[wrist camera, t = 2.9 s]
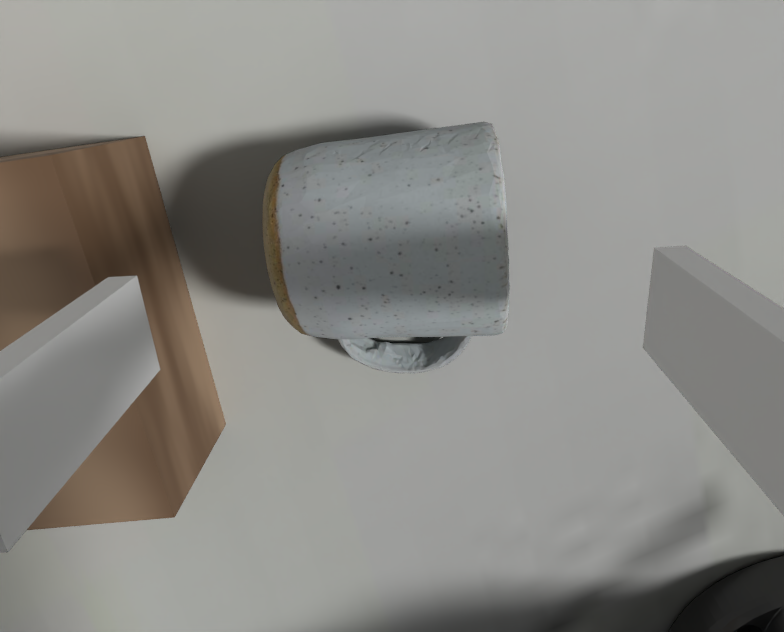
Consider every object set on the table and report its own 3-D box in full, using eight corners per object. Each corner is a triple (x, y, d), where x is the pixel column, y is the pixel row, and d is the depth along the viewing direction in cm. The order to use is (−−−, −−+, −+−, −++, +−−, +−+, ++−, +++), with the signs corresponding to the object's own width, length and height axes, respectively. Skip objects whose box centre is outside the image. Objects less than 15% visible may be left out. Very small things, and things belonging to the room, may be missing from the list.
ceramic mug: (285, 139, 24) (231, 168, 17) (484, 112, 23) (515, 132, 16) (328, 366, 28) (299, 466, 21) (499, 349, 27) (529, 447, 20)
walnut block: (147, 135, 24) (50, 155, 18) (227, 421, 29) (174, 517, 23) (-158, 179, 26) (-352, 213, 19) (-30, 447, 31) (-149, 545, 24)
